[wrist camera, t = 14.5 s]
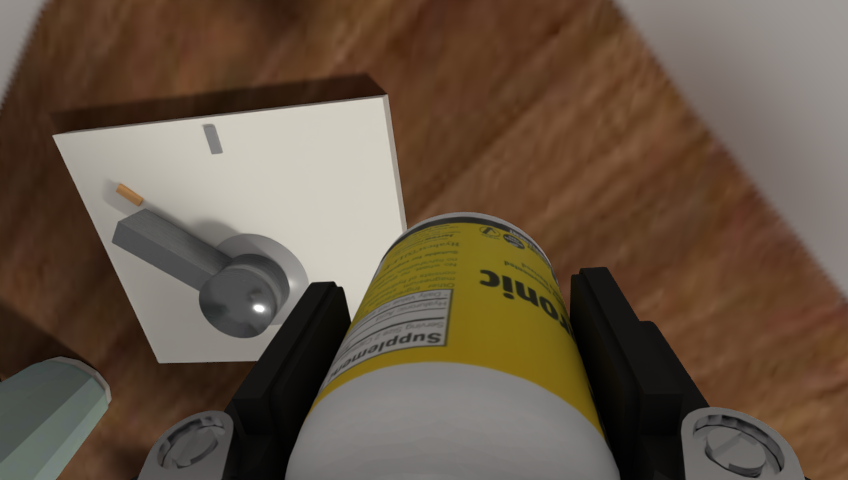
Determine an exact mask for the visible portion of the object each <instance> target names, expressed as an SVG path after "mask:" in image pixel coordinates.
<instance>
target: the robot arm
mask: <svg viewBox="0 0 848 480" xmlns="http://www.w3.org/2000/svg"><path fill="white" fill-rule="evenodd" d="M570 323H571V326H572V329H573V332H574V335H575V338H576V342H577V345H578V348H579V351H580V354H581V357H582V361H583V364H584V367H585V370H586V373H587V376H588V379H589V382H590V385H591V388H592V391H593V394H594V397H595V400H596V403H597V406H598V409H599V412H600V415H601V418H602V421H603V424H604V427H605V431H606V434H607V437H608V439H609V442H610V445H611V449H612V452H613V455H614V458H615V461H616V464H617V466H618V469H619V474H620V479H621V480H810V479H808V478H806V477H805V476H804V475H803V472H802V469H801V467H800V464H799V461H798V458H797V457H796V455H795V453H794V451H793V450H792V448H791V446H790V445H789V444H788V443H787V442H786V441H785V440H784V438H783V437H782V436H781V435H780V434H779V433H778V432H776V431H775V430H773V429H772V428H770V427H769V426H768V425H766V424H765V423H763V422H762V421H759V420H757V419H755V418H753V417H751V416H749V415H747V414H744V413H741V412H737V411H734V410H731V409H725V408H716V407H710V406H709V405H708V403H707V402H706V400H705V399H704V397H703V396H702V394H701V393H700V391H699V390H698V388H697V387H696V385H695V383H694V382H693V380H692V379H691V377H690V376H689V374H688V373H687V371H686V370H685V368H684V367H683V365H682V364H681V362H680V361H679V359H678V358H677V356H676V355H675V353H674V352H673V350H672V349H671V347H670V346H669V344H668V343H667V341H666V340H665V338H664V337H663V335H662V333H661V332H660V330H659V329H658V327H657V326H656V325H655V324H654V323H653V322H651V321H639V319H638V318H637V316H636V315H635V313H634V311H633V310H632V308H631V306H630V305H629V303H628V301H627V300H626V298H625V296H624V295H623V293H622V292H621V290H620V288H619V287H618V285H617V283H616V282H615V280H614V278H613V277H612V275H611V274H610V272H609V270H608V269H607V268H606V267H595V268H581V269H580V272H579V274H576V275H572V276H571V295H570ZM350 325H351V318H350V314H349V309H348V305H347V300H346V296H345V292H344V289H343V287H342V286H337V285H336V283H335V282H334V281H327V282H312V283H311V284H310V285H309V286H308V288H307V289H306V291H305V292H304V294H303V295H302V297H301V298H300V299H299V301H298V302H297V304H296V305H295V307H294V308H293V310H292V311H291V313H290V314H289V316H288V317H287V319H286V320H285V321H284V323H283V324H282V326H281V327H280V329H279V330H278V332H277V333H276V335H275V336H274V338H273V339H272V340H271V342H270V343H269V345H268V346H267V348H266V349H265V351H264V352H263V354H262V355H261V357H260V358H259V360H258V361H257V362H256V364H255V365H254V367H253V368H252V370H251V371H250V373H249V374H248V376H247V377H246V379H245V380H244V381H243V383H242V384H241V386H240V387H239V389H238V390H237V392H236V393H235V395H234V396H233V398H232V400H231V401H230V403H229V404H228V406H227V407H226V409H225V410H224V412H221V411H214V410H213V411H206V412H201V413H198V414H195V415H192V416H189V417H187V418H186V419H184V420H182V421H180V422H178V423H176V424H175V425H174V426H172V427H171V428H170V429H168V430H167V431H166V432H165V433H164V434H163V435H162V436H161V437H160V438H159V439H158V440H157V441H156V443H155V444H154V446H153V447H152V449H151V451H150V452H149V454H148V457H147V459H146V461H145V463H144V466H143V468H142V470H141V472H140V475H138V476H136V477H134V478H133V479H131V480H285V475H286V470H287V466H288V462H289V459H290V456H291V453H292V451H293V448H294V446H295V443H296V441H297V438H298V435H299V432H300V430H301V427H302V425H303V423H304V421H305V419H306V417H307V415H308V413H309V411H310V409H311V407H312V404H313V402H314V400H315V399H316V396H317V394H318V392H319V390H320V388H321V385H322V383H323V381H324V380H325V378H326V375H327V373H328V371H329V369H330V367H331V365H332V363H333V361H334V359H335V356H336V354H337V352H338V350H339V348H340V346H341V344H342V342H343V340H344V338H345V335H346V333H347V331H348V329H349V327H350Z"/></svg>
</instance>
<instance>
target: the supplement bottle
mask: <svg viewBox="0 0 848 480" xmlns="http://www.w3.org/2000/svg"><path fill="white" fill-rule="evenodd" d="M285 480H621V479H620V474H619V469H618V466H617V464H616V461H615V458H614V455H613V452H612V449H611V445H610V442H609V439H608V437H607V434H606V431H605V427H604V424H603V421H602V418H601V415H600V412H599V409H598V406H597V403H596V400H595V397H594V394H593V391H592V388H591V385H590V382H589V379H588V376H587V373H586V370H585V367H584V364H583V361H582V357H581V354H580V351H579V348H578V345H577V342H576V338H575V335H574V332H573V329H572V326H571V323H570V320H569V317H568V314H567V310H566V307H565V304H564V301H563V298H562V294H561V291H560V288H559V285H558V282H557V279H556V276H555V274H554V271H553V269H552V267H551V264H550V262H549V260H548V259H547V257H546V255H545V254H544V252H543V251H542V249H541V248H540V247H539V246H538V245H537V243H536V242H535V241H534V240H533V239H532V238H531V237H529V236H528V235H527V234H526V233H525V232H523V231H522V230H521V229H519V228H517V227H516V226H514V225H512V224H510V223H508V222H506V221H504V220H502V219H499V218H496V217H494V216H490V215H486V214H481V213H472V212H458V213H449V214H444V215H439V216H435V217H432V218H429V219H426V220H424V221H422V222H420V223H418V224H416V225H415V226H413V227H411V228H410V229H408V230H407V231H406V232H404V233H403V234H402V235H401V236H399V237H398V238H397V239H396V240H395V242H394V243H393V244H392V245H391V246H390V248H389V249H388V250H387V252H386V253H385V255H384V256H383V258H382V260H381V262H380V264H379V266H378V268H377V270H376V272H375V274H374V276H373V278H372V280H371V282H370V284H369V287H368V289H367V291H366V293H365V295H364V297H363V300H362V302H361V304H360V306H359V308H358V310H357V312H356V314H355V316H354V319H353V320H352V323H351V325H350V327H349V329H348V331H347V333H346V335H345V338H344V340H343V342H342V344H341V346H340V348H339V350H338V352H337V354H336V356H335V359H334V361H333V363H332V365H331V367H330V369H329V371H328V373H327V375H326V378H325V380H324V381H323V383H322V385H321V388H320V390H319V392H318V394H317V396H316V399H315V400H314V402H313V404H312V407H311V409H310V411H309V413H308V415H307V417H306V419H305V421H304V423H303V425H302V427H301V430H300V432H299V435H298V438H297V441H296V443H295V446H294V448H293V451H292V453H291V456H290V459H289V462H288V466H287V470H286V475H285Z"/></svg>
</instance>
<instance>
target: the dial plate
mask: <svg viewBox="0 0 848 480" xmlns="http://www.w3.org/2000/svg"><path fill="white" fill-rule="evenodd" d="M52 136H53V138H54V140H55V142H56V144H57V147H58V149H59V151H60V153H61V155H62V157H63V159H64V162H65V164H66V166H67V168H68V170H69V172H70V174H71V176H72V179H73V181H74V183H75V185H76V187H77V189H78V191H79V194H80V196H81V198H82V200H83V202H84V204H85V206H86V209H87V211H88V213H89V215H90V217H91V219H92V221H93V224H94V226H95V228H96V230H97V232H98V234H99V236H100V238H101V241H102V243H103V245H104V247H105V249H106V251H107V253H108V256H109V258H110V260H111V262H112V264H113V266H114V268H115V271H116V273H117V275H118V277H119V279H120V281H121V283H122V286H123V288H124V290H125V292H126V294H127V296H128V298H129V301H130V303H131V305H132V307H133V309H134V311H135V313H136V315H137V318H138V320H139V322H140V324H141V326H142V328H143V330H144V333H145V335H146V337H147V339H148V341H149V343H150V345H151V348H152V350H153V352H154V354H155V356H156V358H157V360H158V363H188V362H229V361H258V360H259V358H260V357H261V355H262V354H263V352H264V351H265V349H266V348H267V346H268V345H269V343H270V342H271V340H272V339H273V338H274V336H275V335H276V333H277V332H278V330H279V329H280V327H281V326H282V324H283V323H284V321H285V320H286V319H287V317H288V316H289V314H290V313H291V311H292V310H293V308H294V307H295V305H296V304H297V302H298V301H299V299H300V298H301V297H302V295H303V294H304V292H305V291H306V289H307V288H308V286H309V285H310V284H311V283H312V282H327V281H334V282H335V283H336V285H337V286H342V287H343V289H344V292H345V296H346V300H347V305H348V309H349V314H350V318H351V323H352V320H353V319H354V316H355V314H356V312H357V310H358V308H359V306H360V304H361V302H362V300H363V297H364V295H365V293H366V291H367V289H368V287H369V284H370V282H371V280H372V278H373V276H374V274H375V272H376V270H377V268H378V266H379V264H380V262H381V260H382V258H383V256H384V255H385V253H386V252H387V250H388V249H389V248H390V246H391V245H392V244H393V243H394V242H395V240H396V239H397V238H398V237H399V236H401V235H402V234H403V233H404V232H406V231H407V226H406V219H405V212H404V205H403V198H402V191H401V184H400V177H399V170H398V163H397V156H396V149H395V142H394V135H393V128H392V122H391V115H390V108H389V101H388V95H379V96H370V97H362V98H353V99H345V100H336V101H327V102H319V103H310V104H301V105H293V106H284V107H275V108H267V109H258V110H249V111H241V112H232V113H224V114H215V115H206V116H198V117H189V118H180V119H172V120H163V121H154V122H146V123H137V124H128V125H120V126H111V127H103V128H94V129H85V130H77V131H71V132H66V133H61V134H56V135H52ZM145 208H146V209H148V210H149V211H151V212H153V213H155V214H156V215H158V216H160V217H162V218H163V219H165V220H167V221H168V222H170V223H172V224H174V225H175V226H177V227H179V228H181V229H182V230H184V231H186V232H188V233H189V234H191V235H193V236H195V237H196V238H198V239H200V240H201V241H203V242H205V243H207V244H208V245H210V246H212V247H214V248H215V249H217V250H219V251H221V252H222V253H224V254H226V255H227V256H229V257H231V258H234V257H236V256H239V255H242V254H258V255H261V256H264V257H266V258H268V259H270V260H272V261H273V262H275V263H276V264H277V265H278V266H279V267H280V268H281V269H282V270H283V272H284V273H285V275H286V277H287V279H288V282H289V286H290V293H289V297H288V300H287V301H286V303H285V304H284V306H283V307H282V308H281V310H280V311H279V312H278V314H277V315H276V317H275V318H274V319H273V321H272V322H271V323H270V325H269V326H268V327H267V329H266V330H265V331H264V332H263V333H261V334H260V335H258V336H256V337H252V338H236V337H232V336H229V335H226V334H224V333H222V332H220V331H219V330H217V329H216V328H215V327H213V326H212V325H211V324H210V323H209V322H208V321H207V319H206V318H205V317H204V315H203V313H202V311H201V309H200V305H199V291H198V290H196V289H194V288H192V287H191V286H189V285H187V284H185V283H183V282H182V281H180V280H178V279H176V278H174V277H173V276H171V275H169V274H167V273H165V272H164V271H162V270H160V269H158V268H156V267H155V266H153V265H151V264H149V263H147V262H146V261H144V260H142V259H140V258H138V257H137V256H135V255H133V254H131V253H129V252H128V251H126V250H124V249H122V248H120V247H119V246H117V245H115V244H113V243H112V239H113V235H114V232H115V229H116V226H117V223H118V221H120V220H122V219H124V218H126V217H128V216H130V215H132V214H134V213H136V212H138V211H140V210H143V209H145Z"/></svg>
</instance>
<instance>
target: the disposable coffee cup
mask: <svg viewBox="0 0 848 480" xmlns="http://www.w3.org/2000/svg"><path fill="white" fill-rule="evenodd" d="M110 401H111V393H110V387H109V385H108V384H107V382H106V381H105V380H104V379H103V377H102V376H101V375H100V374H99V373H98V371H96V370H94V369H93V368H91V367H89V366H88V365H86V364H84V363H83V362H81V361H79V360H75V359H70V358H65V357H61V356H60V357H56V358H52V359H48V360H45V361H43V362H40V363H36V364H33V365H31V366H29V367H27V368H26V369H24V370H22V371H20V372H19V373H17V374H15V375H13V376H12V377H10V378H8V379H6V380H5V381H3V382H1V383H0V480H56V479H57V477H58V476H59V474H60V473H61V472H62V470H63V469H64V468H65V466H66V465H67V464H68V462H69V461H70V459H71V458H72V457H73V455H74V454H75V453H76V451H77V450H78V449H79V447H80V446H81V444H82V443H83V442H84V440H85V439H86V438H87V436H88V435H89V434H90V432H91V431H92V430H93V428H94V427H95V425H96V424H97V423H98V421H99V420H100V419H101V417H102V416H103V415H104V413H105V412H106V410H107V409H108V404H109V402H110Z"/></svg>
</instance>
